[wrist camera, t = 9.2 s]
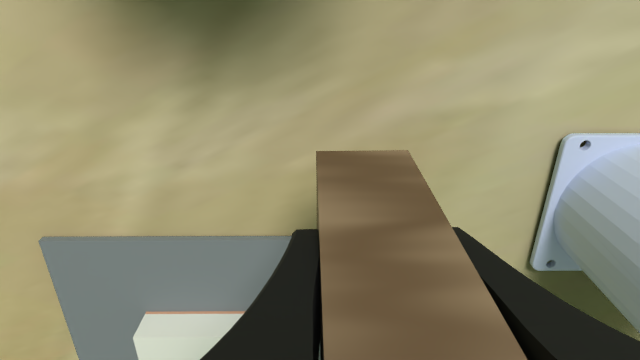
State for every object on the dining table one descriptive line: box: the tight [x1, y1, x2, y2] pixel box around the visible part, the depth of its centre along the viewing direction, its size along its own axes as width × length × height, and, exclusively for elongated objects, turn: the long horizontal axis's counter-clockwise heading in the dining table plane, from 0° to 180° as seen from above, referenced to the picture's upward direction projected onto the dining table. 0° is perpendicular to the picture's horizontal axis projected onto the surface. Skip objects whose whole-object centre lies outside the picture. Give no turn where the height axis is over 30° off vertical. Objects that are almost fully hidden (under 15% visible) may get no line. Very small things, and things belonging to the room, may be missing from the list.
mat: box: [39, 236, 321, 360], centre depth 26 cm, size 22×16×1 cm
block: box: [316, 150, 527, 360], centre depth 10 cm, size 3×3×9 cm
